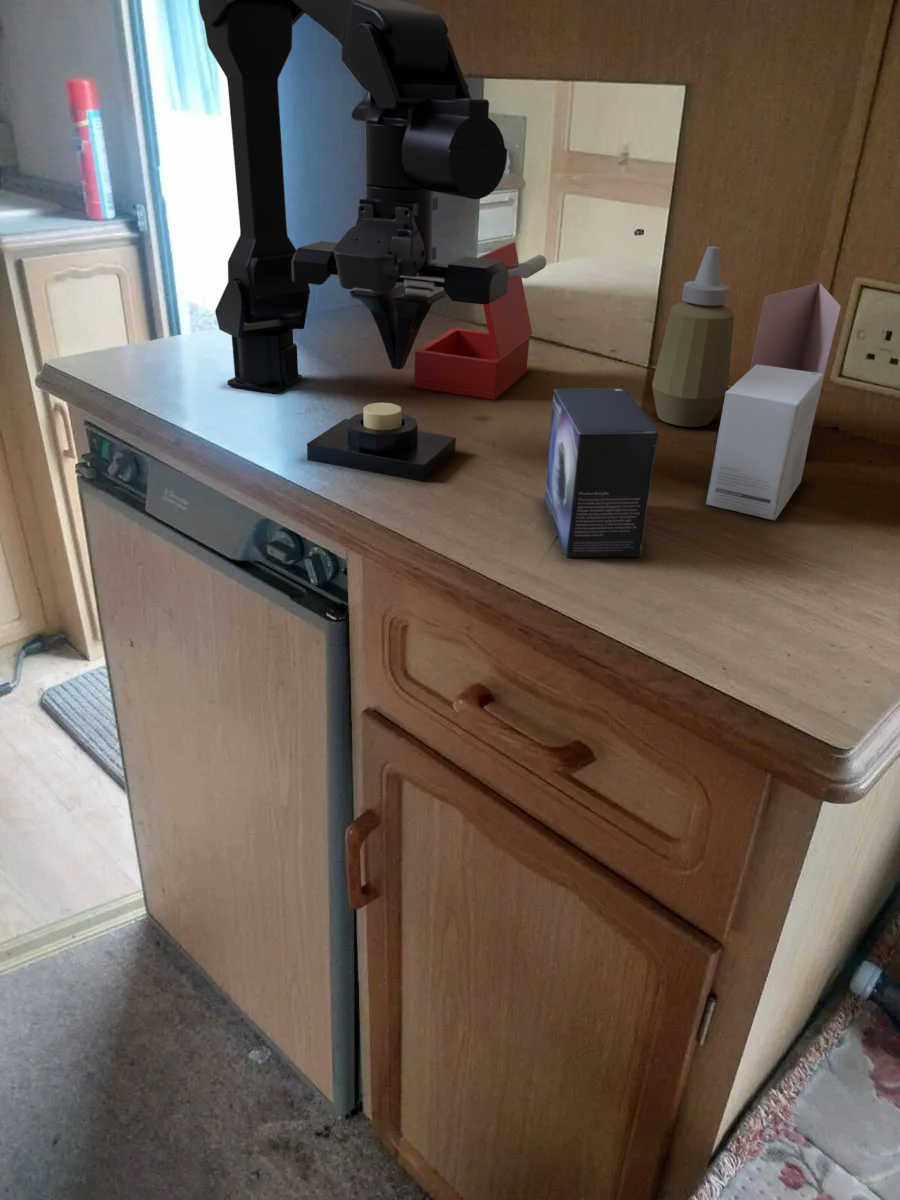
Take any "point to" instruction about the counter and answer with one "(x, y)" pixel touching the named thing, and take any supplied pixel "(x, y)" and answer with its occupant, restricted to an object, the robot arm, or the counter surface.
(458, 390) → the box
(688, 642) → the counter surface
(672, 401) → the squeeze bottle
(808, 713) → the counter surface
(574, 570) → the counter surface
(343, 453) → the button housing
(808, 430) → the cosmetics box
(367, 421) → the button
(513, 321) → the door
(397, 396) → the counter surface
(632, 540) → the small box
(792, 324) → the greeting card
